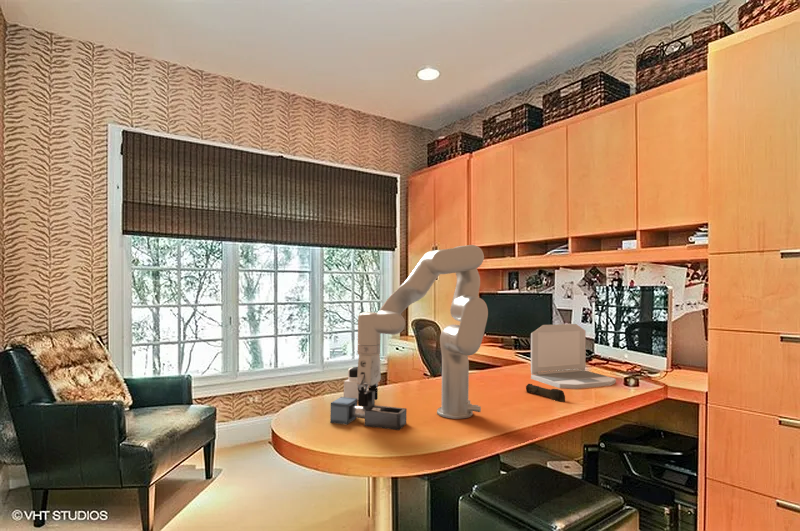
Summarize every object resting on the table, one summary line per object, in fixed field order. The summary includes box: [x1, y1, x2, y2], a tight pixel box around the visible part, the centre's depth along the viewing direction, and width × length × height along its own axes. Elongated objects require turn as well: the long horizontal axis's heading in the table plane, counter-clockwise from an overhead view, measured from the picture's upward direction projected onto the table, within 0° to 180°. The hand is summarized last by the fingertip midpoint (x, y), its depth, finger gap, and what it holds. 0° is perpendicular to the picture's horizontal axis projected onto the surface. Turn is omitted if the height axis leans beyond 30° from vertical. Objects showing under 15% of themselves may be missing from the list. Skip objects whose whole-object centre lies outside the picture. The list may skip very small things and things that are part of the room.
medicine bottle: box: [343, 366, 367, 401], centre depth 184 cm, size 7×7×12 cm
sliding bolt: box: [349, 390, 382, 420], centre depth 153 cm, size 14×4×9 cm, turn 72°
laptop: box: [530, 323, 617, 390], centre depth 219 cm, size 33×24×26 cm
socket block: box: [329, 396, 358, 425], centre depth 155 cm, size 6×8×6 cm
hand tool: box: [525, 383, 566, 403], centre depth 189 cm, size 19×4×5 cm, turn 29°
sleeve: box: [364, 404, 407, 431], centre depth 151 cm, size 12×7×5 cm, turn 72°
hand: (368, 402), depth 153 cm, fingers open, 8 cm apart
